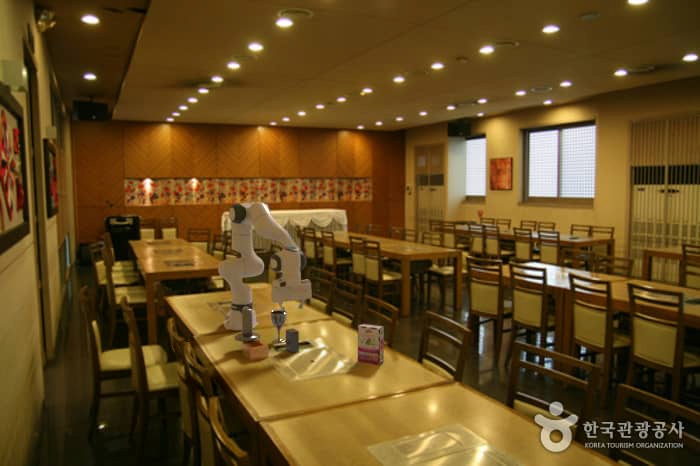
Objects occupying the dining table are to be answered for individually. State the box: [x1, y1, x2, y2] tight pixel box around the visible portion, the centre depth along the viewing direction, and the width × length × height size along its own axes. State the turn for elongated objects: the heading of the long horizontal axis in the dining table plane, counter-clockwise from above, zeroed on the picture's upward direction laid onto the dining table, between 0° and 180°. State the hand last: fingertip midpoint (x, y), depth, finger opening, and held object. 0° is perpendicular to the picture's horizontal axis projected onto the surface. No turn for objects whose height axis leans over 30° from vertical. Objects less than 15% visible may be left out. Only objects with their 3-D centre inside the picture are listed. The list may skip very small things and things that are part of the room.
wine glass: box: [270, 309, 288, 344], centre depth 272 cm, size 8×8×15 cm
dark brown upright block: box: [285, 328, 300, 354], centre depth 257 cm, size 6×4×10 cm, turn 31°
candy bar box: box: [357, 323, 385, 365], centre depth 242 cm, size 11×5×16 cm, turn 62°
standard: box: [234, 308, 269, 361], centre depth 253 cm, size 21×12×20 cm, turn 31°
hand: (291, 309), depth 255 cm, fingers open, 8 cm apart
